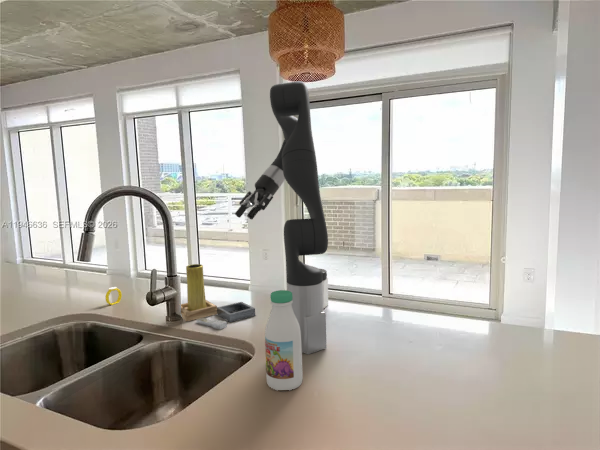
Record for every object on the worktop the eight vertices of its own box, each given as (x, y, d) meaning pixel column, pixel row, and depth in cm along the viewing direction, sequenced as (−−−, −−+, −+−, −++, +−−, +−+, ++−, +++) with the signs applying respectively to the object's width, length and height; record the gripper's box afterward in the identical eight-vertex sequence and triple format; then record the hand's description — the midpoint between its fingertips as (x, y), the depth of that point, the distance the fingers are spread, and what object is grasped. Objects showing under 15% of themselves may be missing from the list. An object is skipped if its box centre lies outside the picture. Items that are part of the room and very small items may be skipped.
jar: (333, 305, 138) (332, 271, 136) (315, 311, 132) (314, 275, 131) (315, 300, 144) (314, 266, 143) (297, 305, 139) (296, 270, 138)
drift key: (226, 326, 122) (226, 322, 122) (220, 329, 119) (219, 325, 119) (202, 320, 128) (202, 316, 127) (195, 323, 125) (195, 318, 125)
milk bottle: (283, 370, 93) (280, 285, 91) (309, 380, 88) (307, 291, 86) (259, 384, 87) (255, 294, 85) (286, 396, 83) (282, 300, 80)
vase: (183, 310, 133) (181, 267, 131) (193, 304, 138) (190, 263, 137) (200, 312, 131) (198, 268, 129) (209, 305, 137) (207, 264, 135)
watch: (110, 307, 145) (108, 291, 143) (105, 306, 146) (102, 290, 145) (124, 301, 150) (121, 285, 149) (118, 300, 151) (116, 285, 150)
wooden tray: (219, 313, 133) (218, 306, 133) (186, 321, 127) (186, 313, 127) (205, 305, 142) (205, 298, 142) (174, 312, 136) (174, 305, 136)
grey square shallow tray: (255, 315, 131) (255, 308, 130) (229, 322, 125) (229, 314, 125) (241, 308, 138) (241, 301, 137) (217, 314, 132) (216, 307, 132)
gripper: (253, 174, 146) (225, 208, 141) (274, 173, 135) (245, 210, 130) (266, 188, 150) (240, 222, 145) (288, 188, 139) (261, 225, 133)
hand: (243, 216), depth 137 cm, fingers open, 8 cm apart
